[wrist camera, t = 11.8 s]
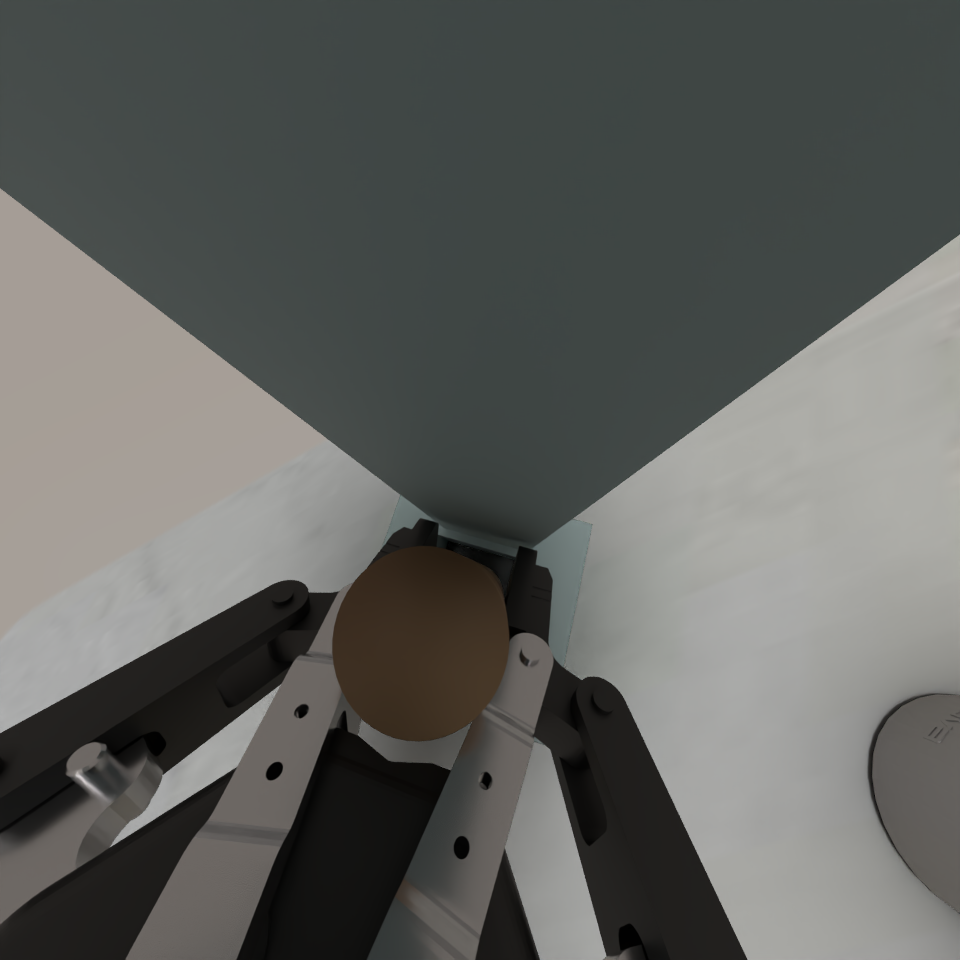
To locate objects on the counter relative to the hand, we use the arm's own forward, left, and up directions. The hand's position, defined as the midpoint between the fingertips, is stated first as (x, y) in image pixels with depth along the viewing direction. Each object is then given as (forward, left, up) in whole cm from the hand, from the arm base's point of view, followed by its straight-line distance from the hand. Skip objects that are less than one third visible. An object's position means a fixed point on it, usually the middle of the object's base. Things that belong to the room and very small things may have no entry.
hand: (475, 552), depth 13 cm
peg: (-2, +1, -5) cm, 6 cm away
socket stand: (-2, +1, -7) cm, 8 cm away
